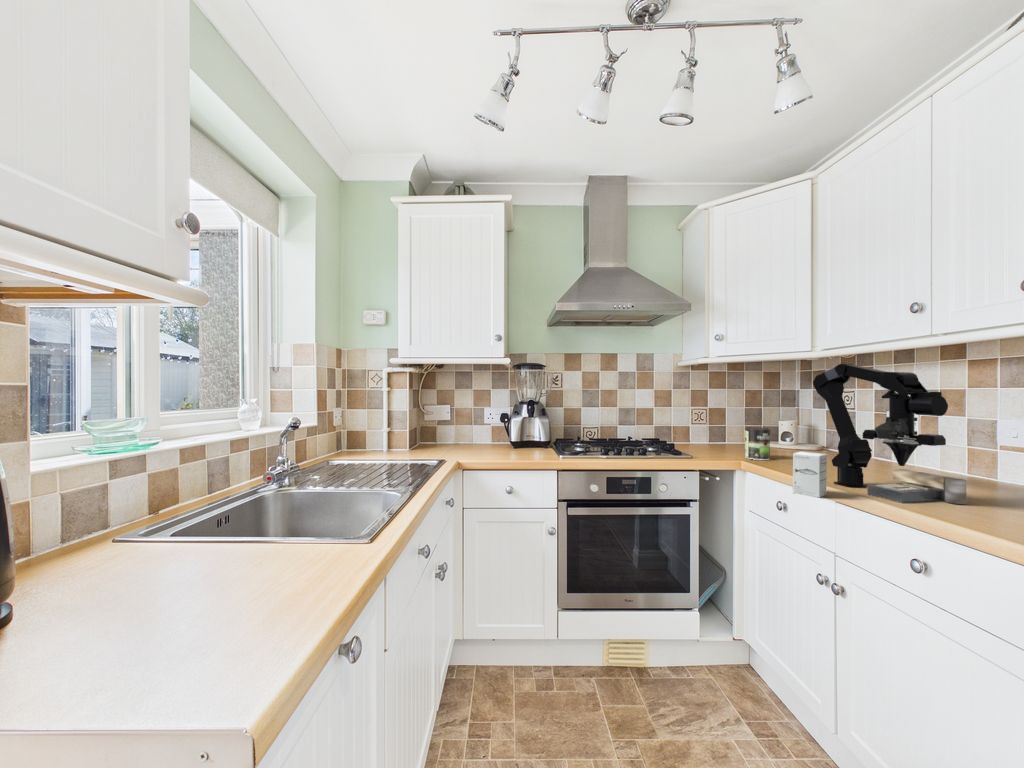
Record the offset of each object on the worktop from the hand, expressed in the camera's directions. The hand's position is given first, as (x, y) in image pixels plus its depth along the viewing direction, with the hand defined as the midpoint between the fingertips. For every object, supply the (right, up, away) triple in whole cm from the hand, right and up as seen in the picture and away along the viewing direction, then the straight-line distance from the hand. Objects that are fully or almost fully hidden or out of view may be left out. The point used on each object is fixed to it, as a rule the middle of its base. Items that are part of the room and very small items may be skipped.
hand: (901, 465), depth 133 cm
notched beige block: (+8, -9, 0) cm, 12 cm away
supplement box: (-25, -10, +4) cm, 27 cm away
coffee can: (-4, -10, +71) cm, 72 cm away
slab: (+3, -10, 0) cm, 10 cm away
